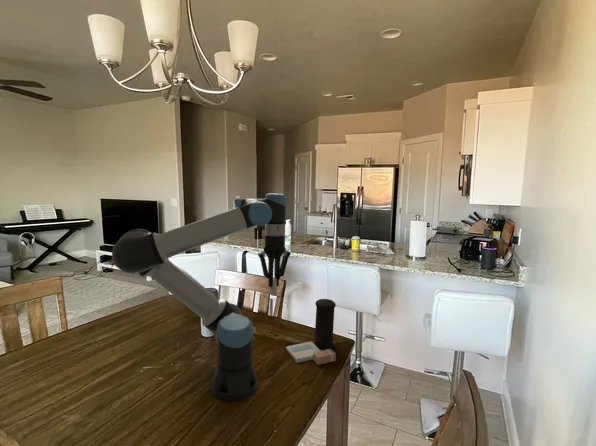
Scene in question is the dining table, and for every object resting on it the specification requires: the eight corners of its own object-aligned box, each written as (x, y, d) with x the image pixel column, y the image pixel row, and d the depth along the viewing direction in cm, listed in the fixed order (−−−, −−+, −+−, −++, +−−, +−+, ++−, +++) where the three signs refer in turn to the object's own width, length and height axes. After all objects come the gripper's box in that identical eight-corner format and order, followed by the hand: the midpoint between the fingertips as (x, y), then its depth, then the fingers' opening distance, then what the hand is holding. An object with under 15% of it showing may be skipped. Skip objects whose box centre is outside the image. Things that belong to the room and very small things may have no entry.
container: (333, 340, 143) (335, 297, 141) (333, 351, 135) (336, 305, 132) (314, 339, 144) (315, 296, 142) (312, 349, 135) (315, 304, 133)
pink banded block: (317, 365, 124) (318, 357, 123) (312, 359, 127) (313, 352, 127) (335, 360, 127) (335, 353, 127) (330, 355, 131) (330, 348, 130)
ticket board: (297, 363, 125) (297, 359, 125) (286, 349, 135) (286, 346, 135) (323, 356, 130) (324, 353, 130) (311, 344, 140) (311, 341, 140)
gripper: (261, 236, 115) (260, 299, 118) (294, 235, 121) (292, 295, 124) (255, 233, 122) (254, 293, 125) (286, 232, 127) (284, 289, 130)
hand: (273, 294), depth 124 cm, fingers closed
